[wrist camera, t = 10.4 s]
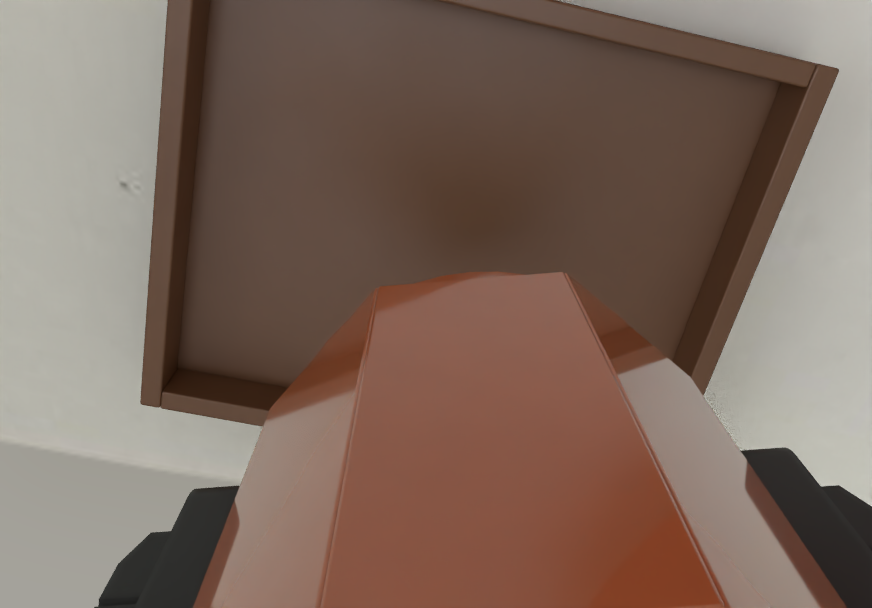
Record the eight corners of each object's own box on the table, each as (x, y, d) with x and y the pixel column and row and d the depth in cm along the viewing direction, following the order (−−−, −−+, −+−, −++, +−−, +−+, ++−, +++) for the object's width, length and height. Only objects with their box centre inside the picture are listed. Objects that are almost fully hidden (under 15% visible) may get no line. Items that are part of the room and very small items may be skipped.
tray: (162, 372, 23) (139, 405, 21) (199, -84, 18) (173, -92, 16) (644, 460, 25) (661, 498, 23) (801, 62, 20) (840, 69, 18)
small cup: (316, 609, 12) (222, 1121, 7) (252, 284, 10) (23, 655, 4) (669, 585, 12) (872, 1088, 6) (689, 249, 10) (1031, 587, 4)
